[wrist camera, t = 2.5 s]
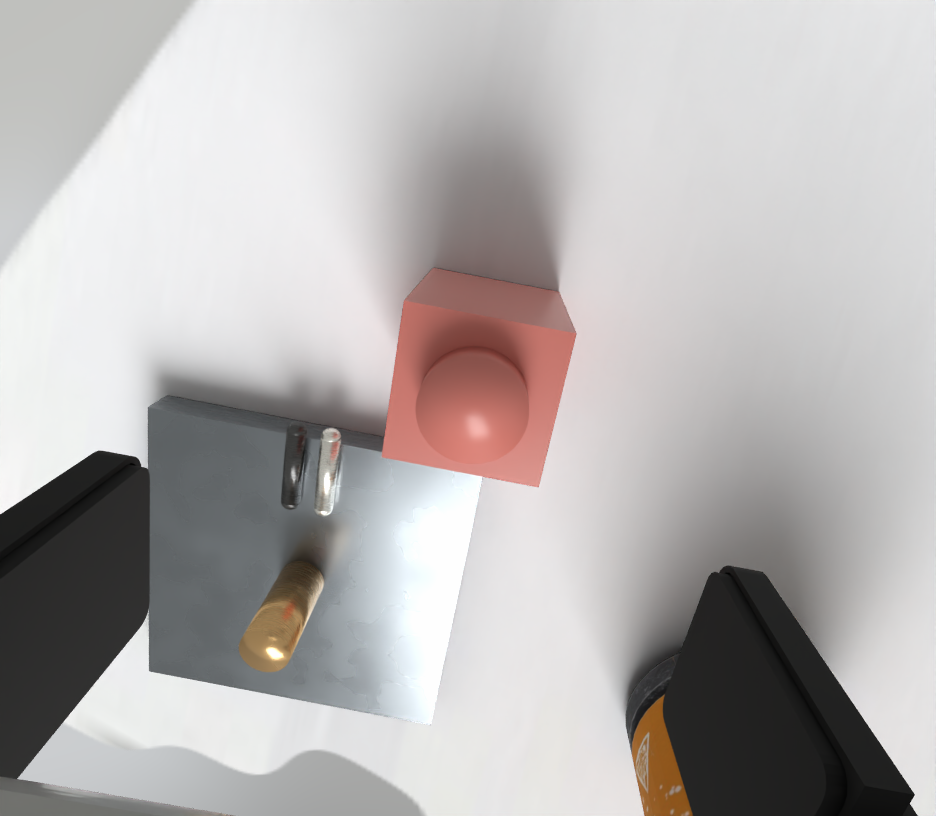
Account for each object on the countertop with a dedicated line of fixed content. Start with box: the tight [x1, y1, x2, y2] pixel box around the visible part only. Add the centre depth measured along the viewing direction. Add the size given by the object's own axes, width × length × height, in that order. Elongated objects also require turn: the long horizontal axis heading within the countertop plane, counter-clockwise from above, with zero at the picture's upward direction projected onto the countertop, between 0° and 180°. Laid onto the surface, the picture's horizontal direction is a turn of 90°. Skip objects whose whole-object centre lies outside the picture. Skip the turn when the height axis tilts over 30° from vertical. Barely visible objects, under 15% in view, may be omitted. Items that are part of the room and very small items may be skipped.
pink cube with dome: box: [382, 268, 576, 487], centre depth 21 cm, size 5×5×8 cm
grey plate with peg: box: [148, 395, 483, 725], centre depth 26 cm, size 15×14×6 cm
